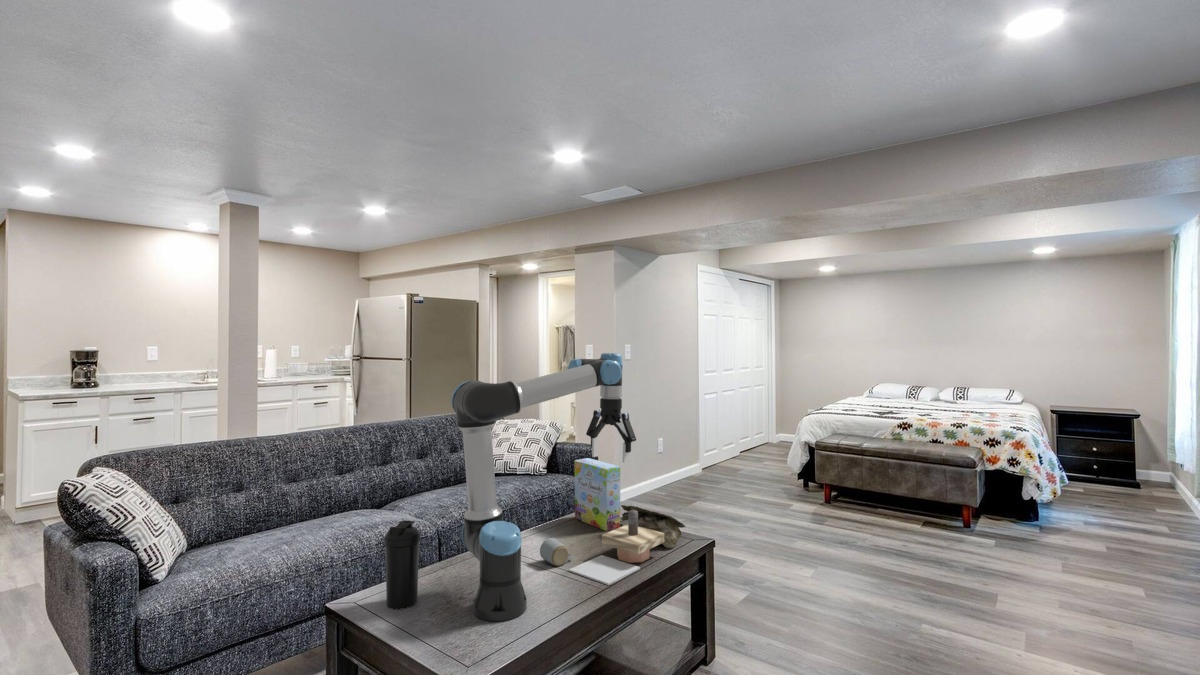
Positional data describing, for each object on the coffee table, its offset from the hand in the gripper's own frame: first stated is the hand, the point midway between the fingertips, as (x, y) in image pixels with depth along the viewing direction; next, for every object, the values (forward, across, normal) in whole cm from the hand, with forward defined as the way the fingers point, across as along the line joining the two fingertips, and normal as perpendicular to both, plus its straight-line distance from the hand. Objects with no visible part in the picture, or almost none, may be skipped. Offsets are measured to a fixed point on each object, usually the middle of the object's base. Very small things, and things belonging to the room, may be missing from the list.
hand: (610, 459), depth 197 cm
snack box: (+36, +32, -31) cm, 57 cm away
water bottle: (+37, +28, +62) cm, 77 cm away
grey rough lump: (+36, +4, -30) cm, 47 cm away
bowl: (+36, -2, -11) cm, 38 cm away
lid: (+31, -2, -11) cm, 33 cm away
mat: (+36, -2, +5) cm, 36 cm away
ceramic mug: (+37, +15, +10) cm, 41 cm away
